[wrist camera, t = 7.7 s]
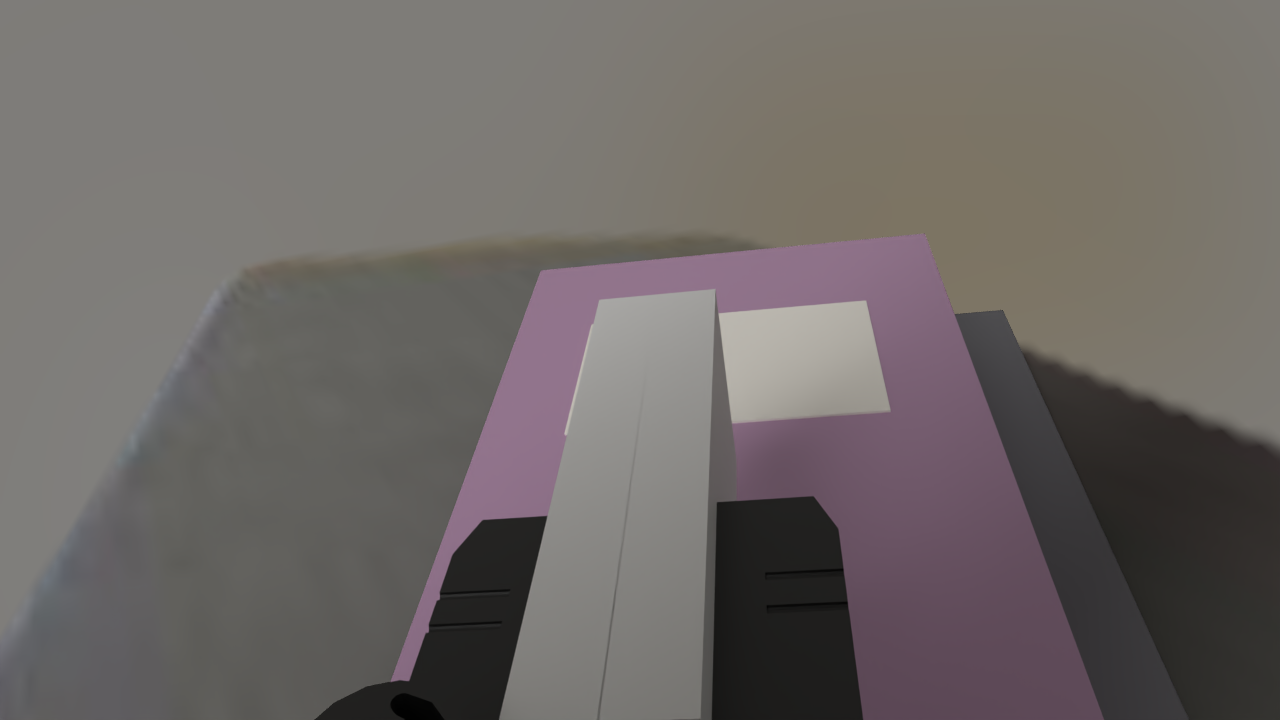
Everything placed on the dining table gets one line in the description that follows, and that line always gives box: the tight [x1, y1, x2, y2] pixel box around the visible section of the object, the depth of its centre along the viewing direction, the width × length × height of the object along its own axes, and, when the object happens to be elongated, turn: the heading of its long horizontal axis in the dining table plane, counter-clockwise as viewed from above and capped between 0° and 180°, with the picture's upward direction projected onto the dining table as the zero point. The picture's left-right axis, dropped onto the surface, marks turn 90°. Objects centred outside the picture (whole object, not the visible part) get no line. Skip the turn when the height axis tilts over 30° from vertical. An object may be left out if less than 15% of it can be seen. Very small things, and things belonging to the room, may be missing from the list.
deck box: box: [391, 234, 1104, 720], centre depth 21 cm, size 4×10×16 cm
